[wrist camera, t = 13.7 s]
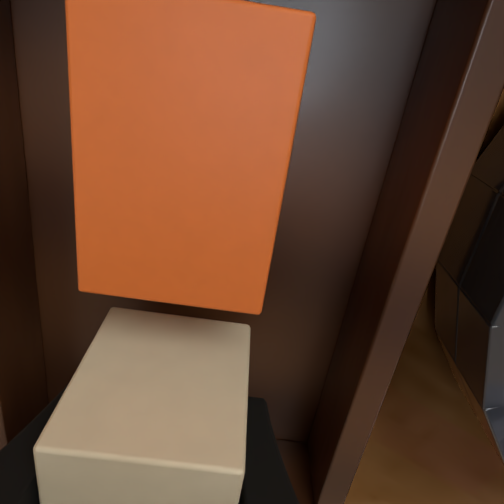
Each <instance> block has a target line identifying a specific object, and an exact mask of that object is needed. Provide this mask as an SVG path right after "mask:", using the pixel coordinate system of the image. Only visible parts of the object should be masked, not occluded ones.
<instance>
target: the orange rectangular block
mask: <svg viewBox="0 0 504 504" xmlns="http://www.w3.org/2000/svg"><path fill="white" fill-rule="evenodd" d="M65 11H66V33H67V55H68V77H69V99H70V121H71V142H72V164H73V186H74V208H75V230H76V252H77V273H78V289H79V291H81V292H87V293H95V294H103V295H110V296H118V297H125V298H133V299H141V300H148V301H156V302H163V303H171V304H179V305H186V306H194V307H202V308H209V309H217V310H224V311H232V312H240V313H247V314H255V315H259V314H260V313H261V312H262V307H263V302H264V297H265V291H266V286H267V280H268V275H269V270H270V264H271V259H272V254H273V248H274V243H275V238H276V232H277V227H278V221H279V216H280V211H281V205H282V200H283V195H284V189H285V184H286V179H287V173H288V168H289V162H290V157H291V152H292V146H293V141H294V136H295V130H296V125H297V119H298V114H299V109H300V103H301V98H302V93H303V87H304V82H305V77H306V71H307V66H308V60H309V55H310V50H311V44H312V39H313V34H314V28H315V23H316V14H314V13H313V12H311V11H305V10H299V9H292V8H286V7H280V6H274V5H268V4H262V3H256V2H250V1H244V0H65Z"/></svg>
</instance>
